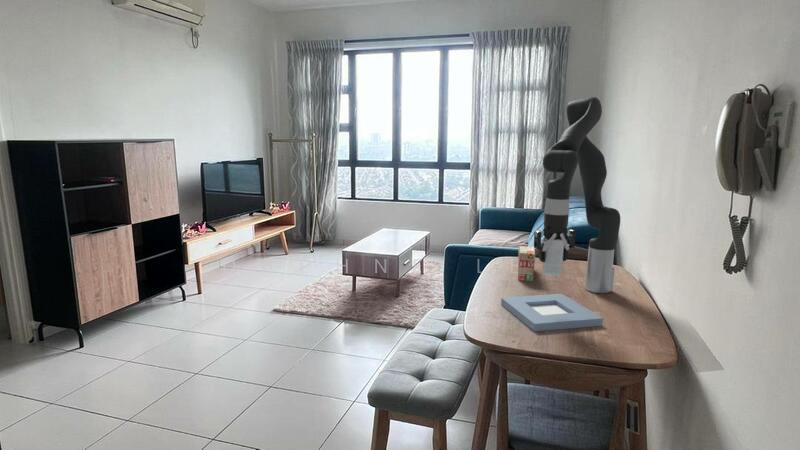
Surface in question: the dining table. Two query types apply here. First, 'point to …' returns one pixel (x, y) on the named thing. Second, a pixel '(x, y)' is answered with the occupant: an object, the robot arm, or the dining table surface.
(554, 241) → the skincare box
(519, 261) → the stack of blocks
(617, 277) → the dining table surface
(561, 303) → the base board
